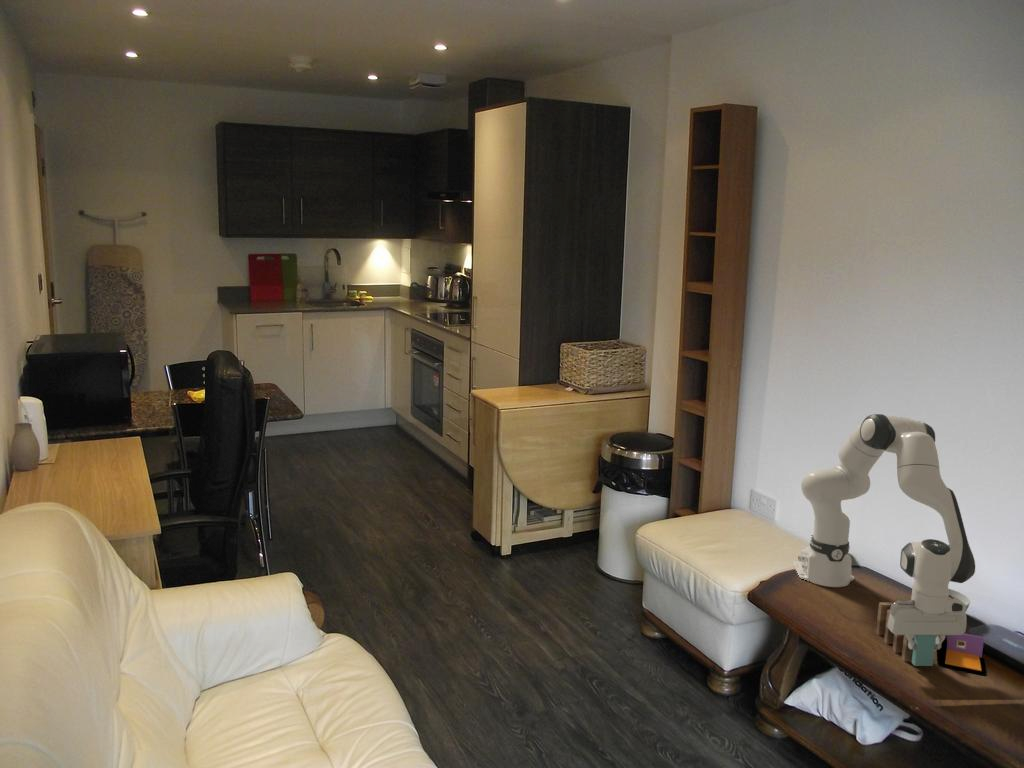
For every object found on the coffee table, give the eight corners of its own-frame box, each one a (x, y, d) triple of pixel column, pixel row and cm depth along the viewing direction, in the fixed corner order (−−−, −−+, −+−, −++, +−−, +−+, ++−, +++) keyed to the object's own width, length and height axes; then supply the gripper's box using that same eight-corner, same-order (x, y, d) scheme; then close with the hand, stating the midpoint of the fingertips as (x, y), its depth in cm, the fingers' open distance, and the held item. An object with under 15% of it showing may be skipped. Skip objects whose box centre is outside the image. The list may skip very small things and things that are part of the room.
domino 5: (914, 665, 226) (918, 631, 224) (911, 662, 227) (915, 628, 226) (932, 665, 226) (936, 631, 224) (929, 662, 228) (933, 628, 226)
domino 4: (904, 661, 231) (908, 628, 229) (901, 658, 233) (905, 625, 231) (921, 661, 231) (925, 628, 230) (918, 658, 233) (922, 625, 231)
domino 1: (878, 636, 246) (881, 604, 244) (875, 634, 247) (879, 602, 246) (894, 636, 246) (898, 604, 244) (892, 634, 248) (895, 602, 246)
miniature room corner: (936, 648, 240) (938, 626, 239) (983, 658, 235) (986, 635, 234) (937, 667, 229) (940, 644, 228) (987, 677, 224) (990, 654, 223)
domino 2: (886, 644, 241) (890, 612, 239) (883, 641, 242) (887, 609, 241) (903, 644, 241) (907, 612, 239) (900, 642, 243) (904, 609, 241)
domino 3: (895, 652, 236) (898, 620, 234) (892, 650, 237) (896, 617, 236) (912, 653, 236) (916, 620, 234) (909, 650, 238) (913, 617, 236)
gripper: (897, 605, 220) (892, 654, 222) (972, 605, 221) (966, 654, 223) (886, 595, 226) (880, 642, 228) (958, 595, 227) (952, 643, 230)
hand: (923, 648), depth 226 cm, fingers closed on domino 5, 5 cm apart
